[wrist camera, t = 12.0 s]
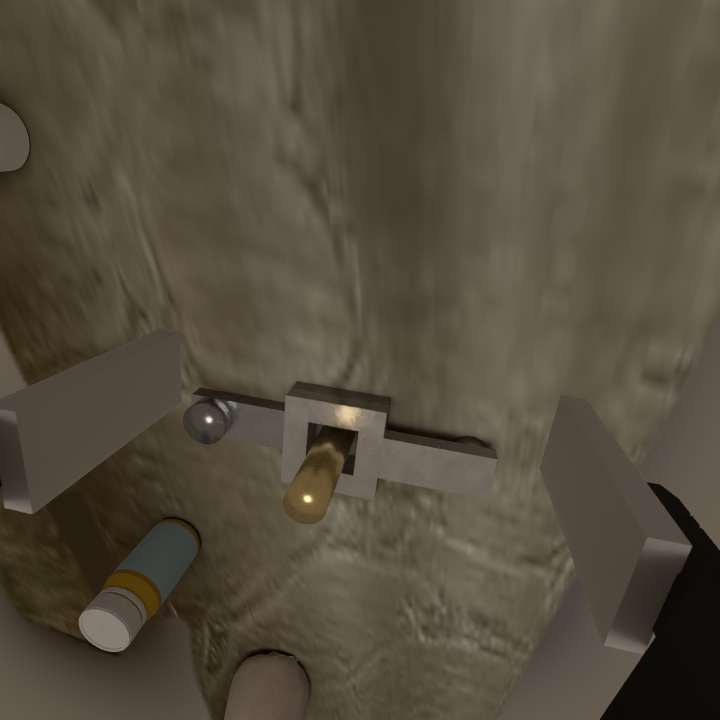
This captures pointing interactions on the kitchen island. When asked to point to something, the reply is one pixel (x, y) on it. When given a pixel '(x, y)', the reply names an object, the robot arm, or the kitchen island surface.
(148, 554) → the bottle
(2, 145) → the cup
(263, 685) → the sculpture
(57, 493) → the robot arm
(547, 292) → the kitchen island surface
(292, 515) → the pin
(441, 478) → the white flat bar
